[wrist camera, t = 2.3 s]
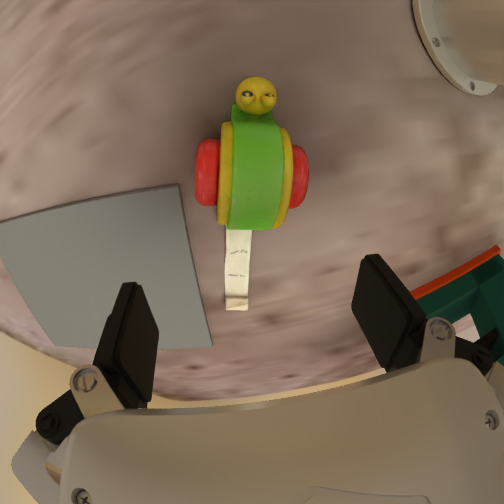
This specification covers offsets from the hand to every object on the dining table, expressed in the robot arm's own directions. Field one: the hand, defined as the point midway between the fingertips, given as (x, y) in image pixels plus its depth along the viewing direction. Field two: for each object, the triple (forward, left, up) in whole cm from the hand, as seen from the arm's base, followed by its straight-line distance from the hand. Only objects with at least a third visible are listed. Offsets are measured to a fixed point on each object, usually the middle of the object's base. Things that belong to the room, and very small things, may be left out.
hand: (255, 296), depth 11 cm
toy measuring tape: (+1, 0, -11) cm, 11 cm away
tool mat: (+7, -15, -11) cm, 20 cm away
